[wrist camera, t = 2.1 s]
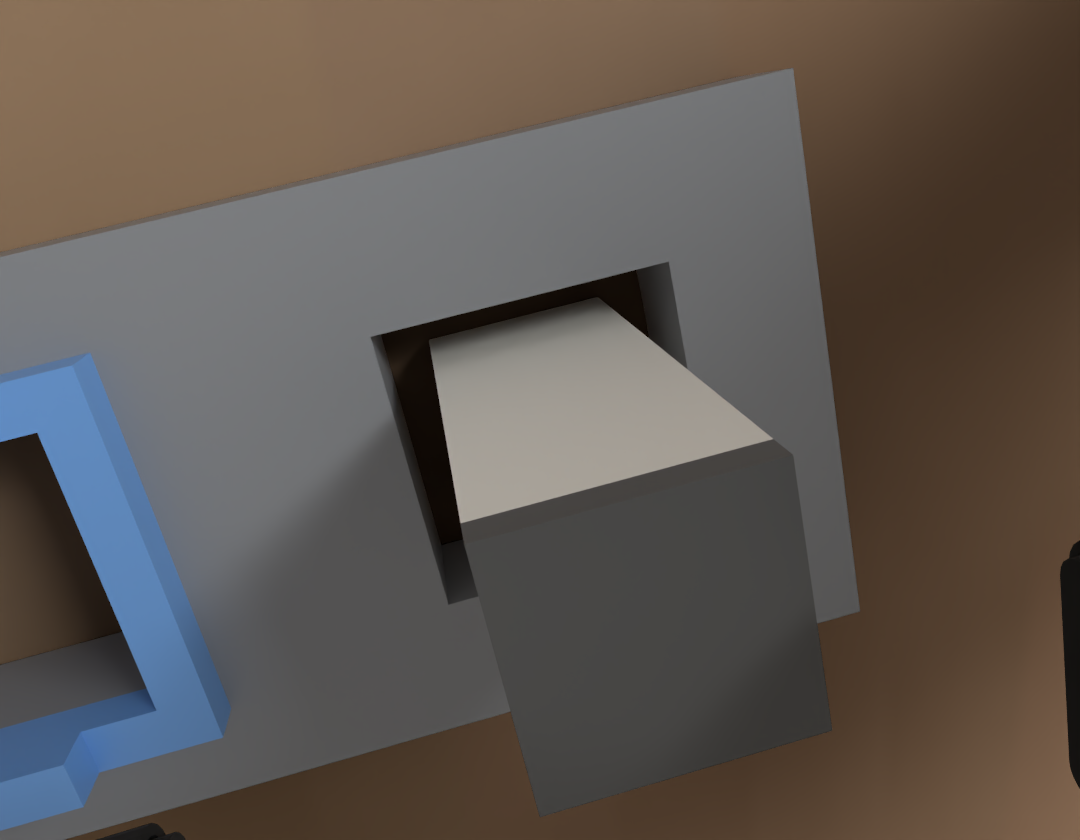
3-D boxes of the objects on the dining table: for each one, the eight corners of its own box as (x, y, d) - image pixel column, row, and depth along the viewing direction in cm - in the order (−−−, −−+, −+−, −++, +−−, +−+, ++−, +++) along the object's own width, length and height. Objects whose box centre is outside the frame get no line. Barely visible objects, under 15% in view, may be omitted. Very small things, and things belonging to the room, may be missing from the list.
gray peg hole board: (736, 76, 20) (842, 60, 16) (805, 555, 24) (905, 658, 19) (-402, 347, 18) (-674, 422, 14) (-131, 817, 22) (-271, 1001, 18)
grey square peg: (597, 297, 21) (793, 454, 11) (630, 454, 23) (832, 730, 12) (428, 339, 21) (464, 544, 11) (471, 497, 22) (540, 817, 12)
